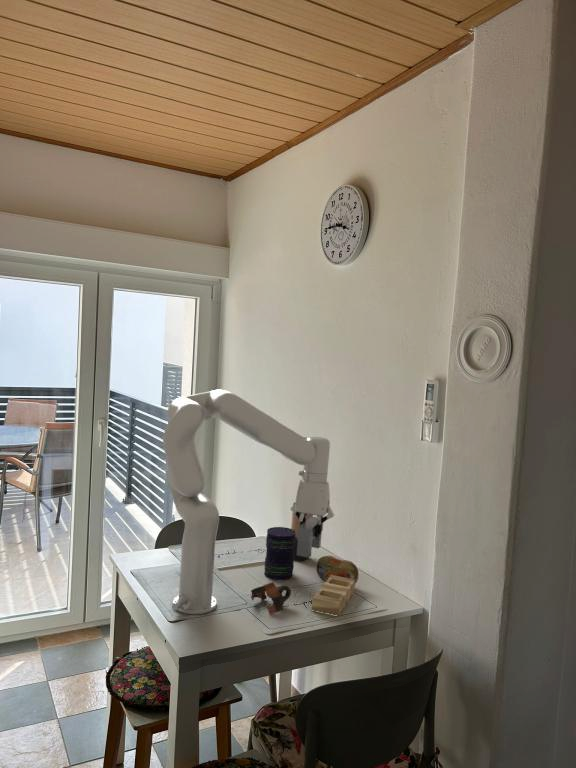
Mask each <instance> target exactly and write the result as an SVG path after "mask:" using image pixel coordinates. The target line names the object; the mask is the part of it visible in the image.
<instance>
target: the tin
mask: <svg viewBox="0 0 576 768" xmlns="http://www.w3.org/2000/svg"><path fill="white" fill-rule="evenodd" d="M316 573H317V575H318V577H319V578H320V579H321V581H323V582H325V581H327V580H328V578H329V577H330V576H331V575H334V576H339V577H344V578H349V579H354V580H355V584H357V582H358V580H359V570H358V567H357V566H356V564H355V563H353V561H350V560H347V559H344V558H340V557H337V556H332V555H325V556H321V557H319V559H318V560H317V562H316Z"/></svg>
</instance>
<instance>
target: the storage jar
mask: <svg viewBox="0 0 576 768" xmlns="http://www.w3.org/2000/svg"><path fill="white" fill-rule="evenodd" d="M266 532H267V534H266V539H265V542H266V543H265V547H266V553H265V555H266V556H265V558H264V567H263V568H264V572H263V575H264V577H265V578H267V579H269V580H274V581H279V580H283V581H287V580H288V579H289V580H291V579H292V578H293V577H292V576H293V573H294V566H295V565H294V563H295V560H294V559H293V554H294V549H295V535H296V532H295V531H294V530H293V529H291V528H289V527H285V526H284V527H283V526H274V527H269V528H268V529H267V530H266ZM290 578H291V579H290Z"/></svg>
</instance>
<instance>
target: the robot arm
mask: <svg viewBox="0 0 576 768" xmlns="http://www.w3.org/2000/svg"><path fill="white" fill-rule="evenodd" d="M167 417H168V419H169V421H168V423H167V425H166V427H165V430H164V432H163V439H162V440H163V441H162V444H163V451H164V454H165V457H166V462H167V465H168V467H166V468H167V469H166V471H165V472H166V473H165V475H166V476H165V477H166V482H167V485H168V488H169V491H170V494H171V498H172V500H173V503H174V505H175V508H176V511H177V514H178V515H179V517H180V518H181V519H182V520H183V522H184V531H183V535H182V541H181V550H180V551H181V552H180V553H181V556H180V571H179V584H178V585H179V589H178V595H177V596H176V597H174V599H173V600H172V605H171V608H172V610H174V611H177V612H179V613H183V614H187V615H203V614H207V613H209V612H212V611H214V610H215V609H216V607H217V605H218V604H217V603H218V601H217V599H216V598H215V597H214V596H213V584H214V569H215V551H216V542H217V541H216V539H217V532H218V527H219V524H220V513H219V510H218V507H217V506H216V504H215V502H213V501H212V500H211V499H210V498H209V497H207V495H206V493H205V490H204V489H205V486H206V477H205V473H204V470H203V467H202V465H201V462H200V459H199V457H198V456H199V455H198V453H197V449H196V445H195V437H196V434H197V432H198V431H199V429H200V428H201V427H202V425H203V424H204V421H208V420H213V419H218V420H220V421H222V422H223V423H225V424H227V425H228V426H229V427H232V428H233V429H235V430H236V431H238V432H239V433H241V434H243V435H245V436H246V437H248V438H250V439H251V440H254V441H255V442H257V443H259V444H260V445H264V446H266V447H269V448H270V449H272V450H274V451H276V452H277V453H279V454H281V456H282V457H284V458H285V459H286V460H289V461H291V462H293V463H295V464H297V465H301V466H303V470H302V471H301V470H299V472H298V476H301V479H299V483H298V487H297V491H296V498H295V502H294V503H295V504H294V505H293V504H292V506H291V507H290V510H291V512H292V513H293V512H294V513H295V514H296V516H297V517H298V518H299V521H300V525H301V524H303V523H304V522H305V521H306V514H311V515H313V516H315V517H317V524H316V530H315V537H318V536H319V535H320V534H321V532H323V531H322V523H323V524H324V523H325V522H326V521H327V520H330V519H333V518H334V516H335V515H334V512H333V510H332V508H331V507H330V506H331V503H330V499H331V498H330V497H331V496H330V495H331V494H330V493H331V492H330V485H329V484H330V483H329V482H328V471H329V462H330V461H329V460H330V447H331V442H330V440H329V439H328V438H325V437H322V436H321V437H320V436H310V437H304V436H302V435H300V434H299V433H297V432H295V431H294V430H293V429H290V428H289V427H287V426H286V425H284V424H282V423H281V422H279V421H278V420H276V419H275V418H273V417H272V416H270V415H268V414H267V413H266V412H264V411H262V410H260V409H259V408H257V407H256V406H254V405H253V404H251V403H249V402H248V401H246V400H245V399H244V398H242V397H240V396H238V395H237V394H235V393H234V392H231V391H227V390H224V389H215V390H213V389H212V390H211V391H205V392H200V393H196V394H195V393H194V394H191V395H187V396H181V397H178V398H175V399H174V400H173V401H171V402H170V403H169V406H168V409H167ZM321 535H322V534H321Z"/></svg>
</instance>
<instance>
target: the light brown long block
mask: <svg viewBox="0 0 576 768" xmlns="http://www.w3.org/2000/svg"><path fill="white" fill-rule="evenodd" d="M355 587H356V583H355V580H354V579H349V578H344V577H339V576H334V575H331V576H330V577H329V578H328V580H327V581H326V582H325V581H324V583H323V585H322V586H321V587H320V588H319V589H318V591H317V592H316V593H315V594H314V596H313V597H312V602H311V611H312V610H314V611H319V612H323V613H329V614H333V615H337V616H338V615H339V614H340V615H341V613H342V612H343V610H344V609H345V607H346V606H345V605H348V603H347V602H349V601H350V600H349V599H351V598H352V597H353V595H354V593H355V591H356V589H355ZM351 596H352V597H351ZM343 608H344V609H343ZM342 609H343V610H342ZM341 611H342V612H341ZM340 612H341V613H340ZM340 615H339V616H340Z"/></svg>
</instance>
